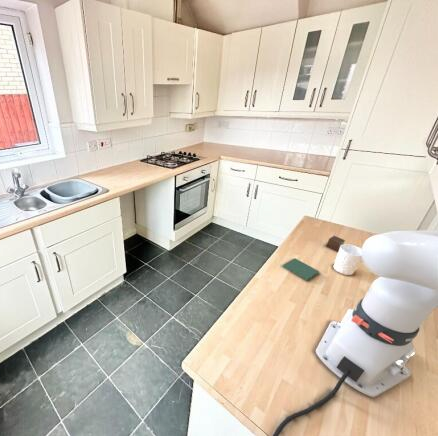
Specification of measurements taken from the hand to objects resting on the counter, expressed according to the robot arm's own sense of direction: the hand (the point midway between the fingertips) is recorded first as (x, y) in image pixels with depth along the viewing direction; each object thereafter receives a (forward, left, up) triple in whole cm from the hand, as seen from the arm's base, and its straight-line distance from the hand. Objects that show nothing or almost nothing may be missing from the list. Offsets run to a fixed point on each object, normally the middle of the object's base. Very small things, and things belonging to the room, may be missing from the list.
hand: (413, 271), depth 80 cm
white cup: (0, +17, -12) cm, 21 cm away
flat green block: (-15, +26, -12) cm, 32 cm away
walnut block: (+13, +27, -12) cm, 32 cm away
